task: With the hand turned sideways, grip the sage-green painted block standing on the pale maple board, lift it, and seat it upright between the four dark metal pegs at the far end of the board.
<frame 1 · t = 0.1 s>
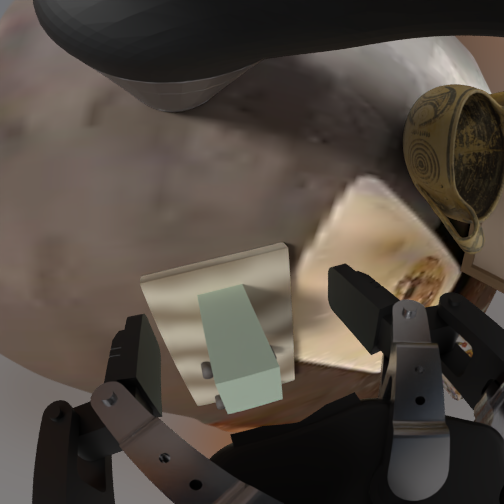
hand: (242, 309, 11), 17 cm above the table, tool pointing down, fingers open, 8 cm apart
ceramic bowl: (422, 141, 30), on the table
green block: (224, 307, 31), point 1 cm above the table, touching peg board
photo frame: (482, 212, 41), on the table
decorative jar: (439, 348, 60), on the table
peg board: (231, 338, 35), on the table
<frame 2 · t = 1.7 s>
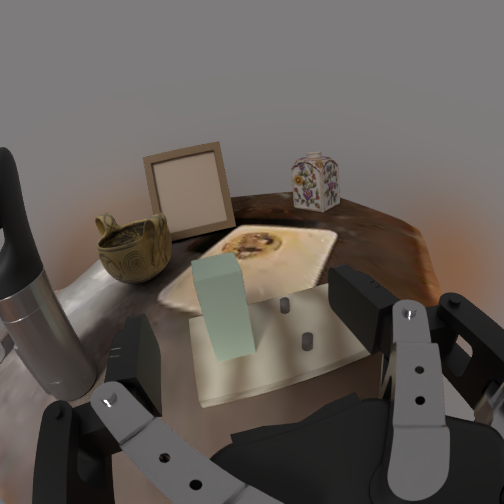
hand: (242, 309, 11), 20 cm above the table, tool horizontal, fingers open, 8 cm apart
ceramic bowl: (144, 276, 60), on the table
green block: (232, 344, 35), point 1 cm above the table, touching peg board
photo frame: (196, 230, 83), on the table
decorative jar: (317, 206, 90), on the table
peg board: (280, 340, 37), on the table
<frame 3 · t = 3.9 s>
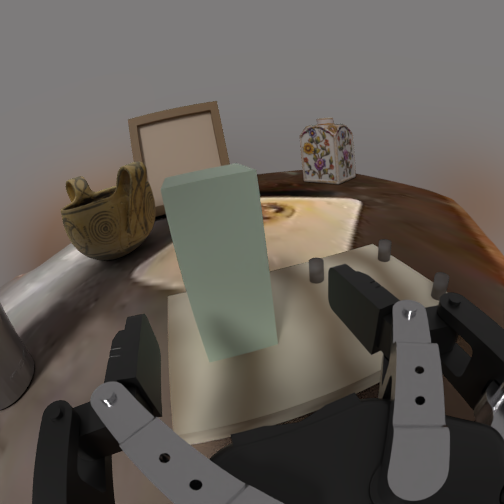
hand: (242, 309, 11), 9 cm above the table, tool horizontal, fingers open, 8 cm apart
ceramic bowl: (120, 252, 46), on the table
green block: (236, 332, 21), point 1 cm above the table, touching peg board
photo frame: (189, 206, 69), on the table
decorative jar: (330, 180, 76), on the table
peg board: (314, 324, 23), on the table
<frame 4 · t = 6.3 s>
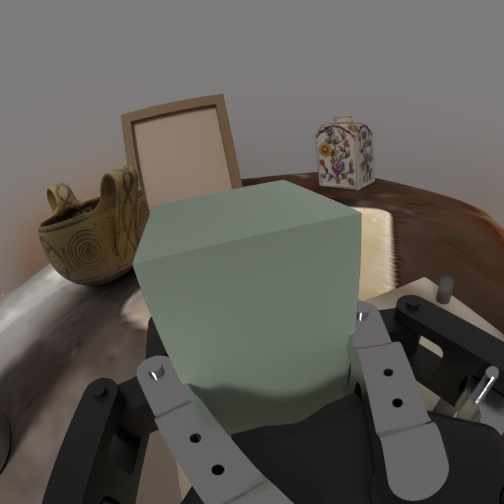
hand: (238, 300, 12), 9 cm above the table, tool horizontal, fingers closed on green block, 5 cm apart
ceramic bowl: (110, 274, 37), on the table
green block: (271, 428, 13), point 1 cm above the table, touching gripper, peg board
photo frame: (191, 214, 60), on the table
decorative jar: (348, 185, 67), on the table
peg board: (370, 401, 14), on the table
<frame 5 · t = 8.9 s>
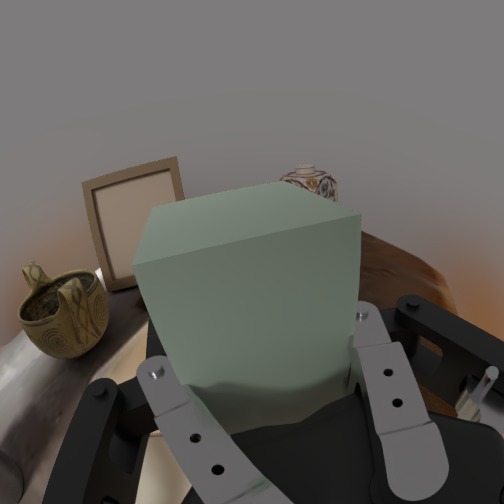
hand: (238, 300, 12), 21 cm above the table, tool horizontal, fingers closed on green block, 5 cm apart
ceramic bowl: (82, 343, 41), on the table
green block: (271, 429, 13), point 14 cm above the table, touching gripper
photo frame: (155, 271, 64), on the table
decorative jar: (309, 235, 71), on the table
peg board: (234, 494, 18), on the table
when the fingers open (10 cm above the table, at t = 11.8 s): green block stays where it is, resting on peg board.
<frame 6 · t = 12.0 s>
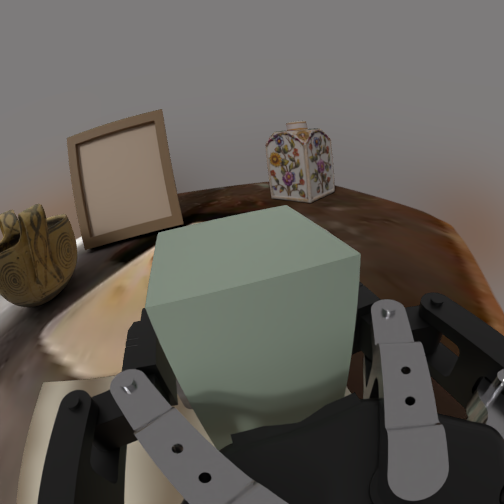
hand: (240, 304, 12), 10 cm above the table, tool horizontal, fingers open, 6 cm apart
ceramic bowl: (47, 295, 36), on the table
green block: (272, 437, 13), point 1 cm above the table, touching peg board
photo frame: (137, 231, 59), on the table
decorative jar: (304, 196, 66), on the table
peg board: (173, 467, 13), on the table
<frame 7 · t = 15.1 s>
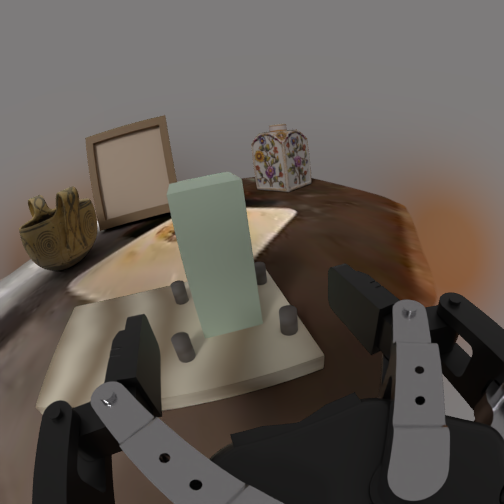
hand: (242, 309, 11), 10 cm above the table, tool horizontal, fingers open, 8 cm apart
ceramic bowl: (70, 263, 47), on the table
green block: (228, 314, 25), point 1 cm above the table, touching peg board
photo frame: (143, 216, 70), on the table
decorative jar: (284, 187, 77), on the table
peg board: (165, 342, 24), on the table
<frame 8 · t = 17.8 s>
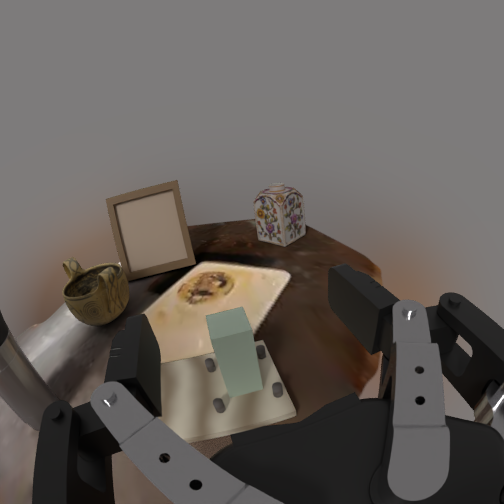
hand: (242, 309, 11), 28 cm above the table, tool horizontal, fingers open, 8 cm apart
ceramic bowl: (107, 316, 61), on the table
green block: (242, 381, 38), point 1 cm above the table, touching peg board
photo frame: (161, 266, 84), on the table
decorative jar: (282, 238, 91), on the table
peg board: (203, 396, 38), on the table
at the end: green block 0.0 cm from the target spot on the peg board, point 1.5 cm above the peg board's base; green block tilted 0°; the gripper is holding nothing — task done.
